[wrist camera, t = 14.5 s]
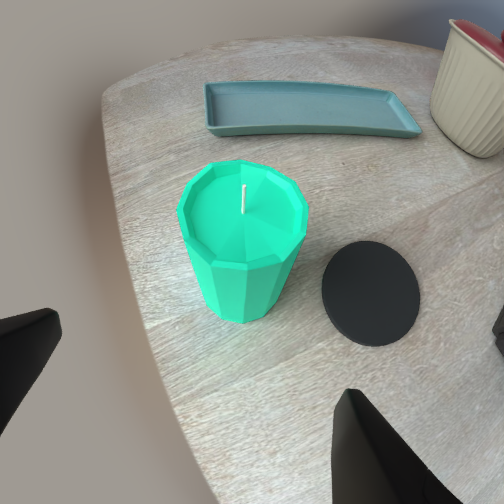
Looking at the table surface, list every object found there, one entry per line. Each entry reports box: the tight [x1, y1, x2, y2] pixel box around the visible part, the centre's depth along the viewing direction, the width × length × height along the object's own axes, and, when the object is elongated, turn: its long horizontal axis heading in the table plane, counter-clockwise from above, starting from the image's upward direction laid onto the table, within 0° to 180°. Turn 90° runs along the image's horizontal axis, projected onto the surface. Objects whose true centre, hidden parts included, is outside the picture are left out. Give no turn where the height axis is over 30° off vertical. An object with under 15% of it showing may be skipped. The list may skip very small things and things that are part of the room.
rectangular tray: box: [203, 80, 422, 138], centre depth 31 cm, size 26×9×2 cm, turn 99°
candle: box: [176, 160, 309, 324], centre depth 17 cm, size 6×6×12 cm
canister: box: [430, 19, 504, 158], centre depth 25 cm, size 18×18×21 cm
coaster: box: [322, 241, 420, 347], centre depth 22 cm, size 9×9×1 cm
